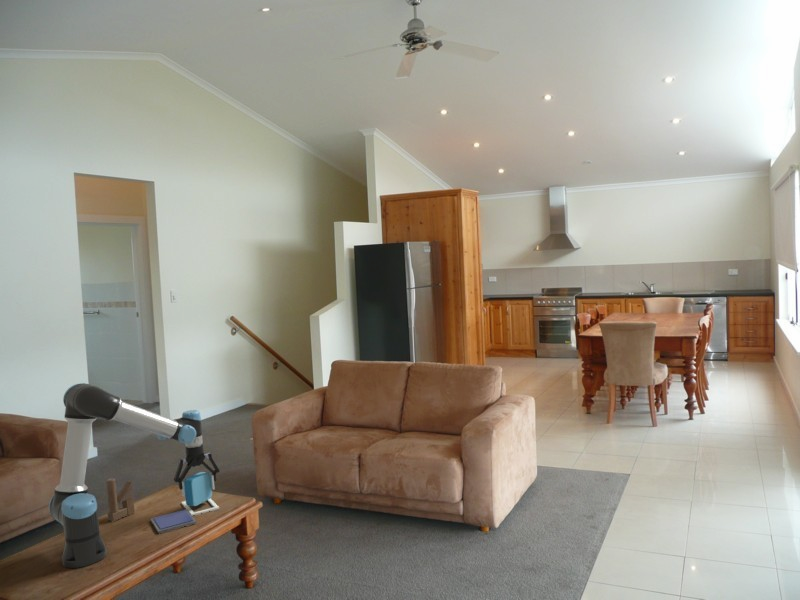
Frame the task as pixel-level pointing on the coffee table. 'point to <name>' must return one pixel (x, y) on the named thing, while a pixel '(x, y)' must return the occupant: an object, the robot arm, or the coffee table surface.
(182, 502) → the frame
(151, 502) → the coffee table surface
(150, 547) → the coffee table surface
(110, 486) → the brown wooden mallet
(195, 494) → the data package
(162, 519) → the ink pad
